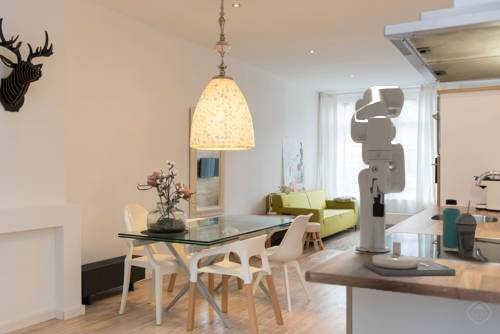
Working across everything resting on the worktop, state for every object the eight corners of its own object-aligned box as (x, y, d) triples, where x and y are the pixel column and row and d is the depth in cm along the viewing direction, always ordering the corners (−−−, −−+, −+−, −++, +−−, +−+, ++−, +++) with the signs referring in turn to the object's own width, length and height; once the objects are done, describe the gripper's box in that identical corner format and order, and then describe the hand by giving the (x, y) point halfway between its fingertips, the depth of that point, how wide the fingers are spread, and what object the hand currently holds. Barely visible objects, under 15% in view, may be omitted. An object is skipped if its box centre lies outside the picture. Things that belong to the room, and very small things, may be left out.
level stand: (363, 265, 145) (363, 260, 145) (429, 264, 148) (429, 259, 148) (382, 275, 130) (382, 269, 130) (455, 274, 133) (455, 268, 133)
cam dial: (416, 270, 130) (416, 249, 130) (369, 266, 135) (369, 245, 135) (418, 262, 142) (419, 243, 142) (375, 259, 147) (375, 240, 147)
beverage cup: (453, 254, 170) (454, 200, 170) (475, 255, 168) (475, 200, 168) (455, 257, 163) (455, 200, 164) (478, 258, 161) (478, 201, 161)
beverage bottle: (462, 253, 173) (463, 199, 173) (444, 252, 174) (444, 199, 174) (458, 250, 179) (458, 199, 179) (440, 249, 180) (440, 198, 181)
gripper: (386, 155, 133) (385, 218, 132) (395, 158, 146) (395, 216, 146) (360, 155, 137) (360, 217, 136) (372, 158, 150) (371, 215, 149)
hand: (378, 216), depth 141 cm, fingers closed
